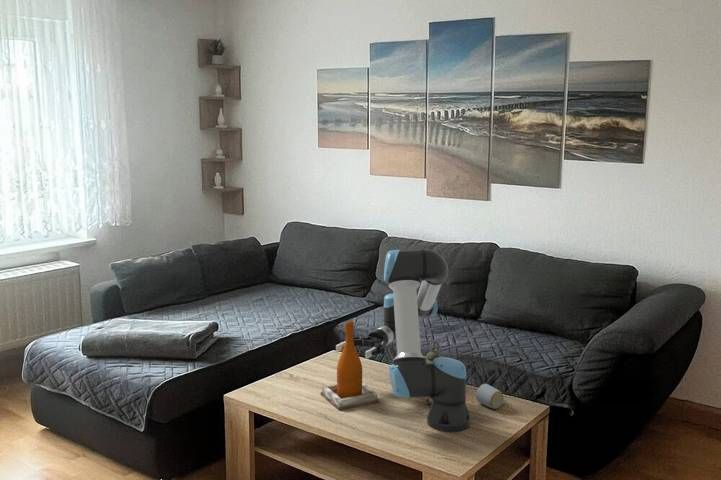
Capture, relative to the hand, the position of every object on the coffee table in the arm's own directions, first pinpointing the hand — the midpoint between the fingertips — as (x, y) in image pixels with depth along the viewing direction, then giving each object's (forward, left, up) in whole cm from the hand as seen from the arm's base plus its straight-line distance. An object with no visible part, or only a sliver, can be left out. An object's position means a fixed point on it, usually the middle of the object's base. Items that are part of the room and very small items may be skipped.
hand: (351, 352), depth 292 cm
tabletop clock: (-19, -25, -18) cm, 36 cm away
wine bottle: (-1, +1, -17) cm, 17 cm away
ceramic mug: (-31, -44, -18) cm, 57 cm away
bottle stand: (-1, +1, -18) cm, 18 cm away
